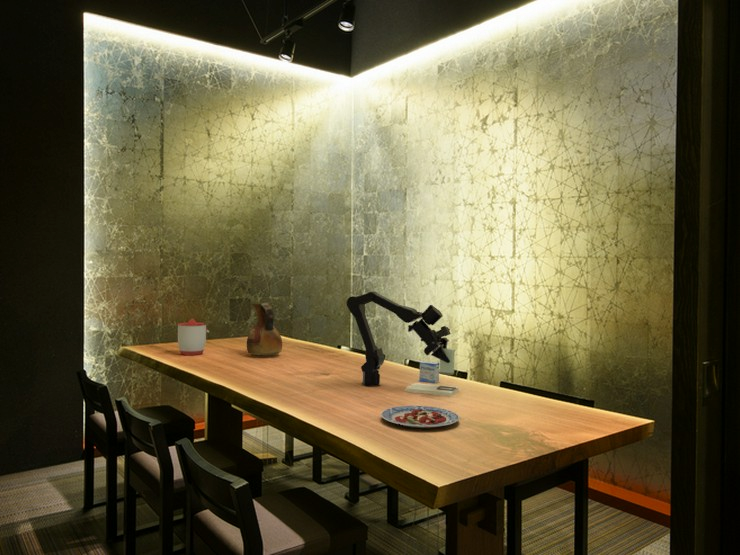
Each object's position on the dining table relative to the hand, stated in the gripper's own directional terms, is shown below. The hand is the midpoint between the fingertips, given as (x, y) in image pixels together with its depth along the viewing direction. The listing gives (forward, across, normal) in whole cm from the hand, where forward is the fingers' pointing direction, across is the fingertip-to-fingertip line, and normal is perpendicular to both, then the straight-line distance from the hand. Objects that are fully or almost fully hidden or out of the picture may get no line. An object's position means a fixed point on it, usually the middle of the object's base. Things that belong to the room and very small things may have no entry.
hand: (450, 361), depth 235 cm
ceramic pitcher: (-73, +46, +93) cm, 127 cm away
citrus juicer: (-100, +32, +119) cm, 159 cm away
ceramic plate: (+10, -46, +8) cm, 48 cm away
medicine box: (-1, +19, +19) cm, 27 cm away
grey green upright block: (+3, 0, +4) cm, 5 cm away
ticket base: (+4, 0, +14) cm, 15 cm away
